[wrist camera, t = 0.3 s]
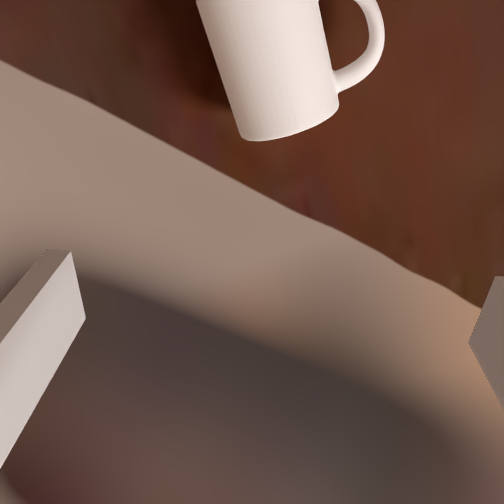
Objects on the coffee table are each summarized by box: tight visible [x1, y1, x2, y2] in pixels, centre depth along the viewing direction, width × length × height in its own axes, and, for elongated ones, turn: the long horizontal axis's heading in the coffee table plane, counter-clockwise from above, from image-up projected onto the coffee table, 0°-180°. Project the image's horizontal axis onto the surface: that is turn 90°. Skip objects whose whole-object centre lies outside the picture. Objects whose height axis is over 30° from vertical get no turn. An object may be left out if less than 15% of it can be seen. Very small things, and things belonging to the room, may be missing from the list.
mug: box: [196, 0, 385, 141], centre depth 31 cm, size 12×10×8 cm
